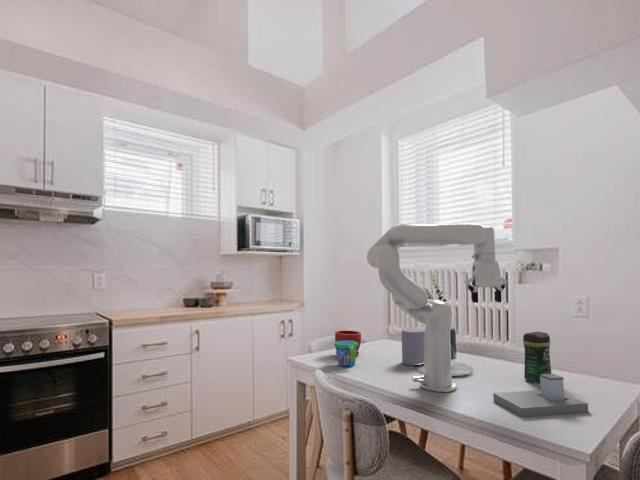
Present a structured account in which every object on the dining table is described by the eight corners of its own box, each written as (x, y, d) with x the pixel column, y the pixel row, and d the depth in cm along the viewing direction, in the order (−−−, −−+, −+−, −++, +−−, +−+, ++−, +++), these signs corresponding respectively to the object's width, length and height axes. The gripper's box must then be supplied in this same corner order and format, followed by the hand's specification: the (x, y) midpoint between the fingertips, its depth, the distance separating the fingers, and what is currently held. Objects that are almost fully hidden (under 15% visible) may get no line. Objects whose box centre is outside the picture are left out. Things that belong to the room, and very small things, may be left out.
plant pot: (353, 360, 184) (353, 334, 185) (330, 356, 191) (330, 332, 192) (365, 354, 195) (365, 330, 195) (343, 352, 202) (343, 328, 203)
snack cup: (331, 361, 181) (330, 340, 181) (352, 360, 183) (352, 338, 184) (339, 370, 165) (339, 346, 166) (363, 368, 168) (362, 345, 168)
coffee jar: (541, 385, 141) (539, 334, 143) (521, 380, 148) (518, 331, 149) (556, 381, 146) (553, 332, 148) (535, 376, 153) (533, 329, 154)
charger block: (551, 408, 119) (550, 378, 119) (541, 403, 123) (539, 374, 124) (565, 407, 119) (563, 377, 120) (554, 402, 124) (552, 373, 125)
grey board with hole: (522, 417, 112) (521, 408, 112) (493, 400, 126) (493, 393, 126) (588, 411, 115) (587, 403, 116) (553, 396, 129) (552, 389, 129)
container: (429, 365, 172) (428, 331, 173) (407, 366, 170) (406, 332, 171) (419, 360, 182) (418, 328, 183) (399, 361, 180) (398, 329, 181)
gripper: (469, 258, 145) (471, 303, 143) (511, 257, 147) (513, 302, 146) (459, 258, 152) (460, 301, 151) (499, 258, 155) (501, 300, 153)
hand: (486, 302), depth 148 cm, fingers open, 9 cm apart
